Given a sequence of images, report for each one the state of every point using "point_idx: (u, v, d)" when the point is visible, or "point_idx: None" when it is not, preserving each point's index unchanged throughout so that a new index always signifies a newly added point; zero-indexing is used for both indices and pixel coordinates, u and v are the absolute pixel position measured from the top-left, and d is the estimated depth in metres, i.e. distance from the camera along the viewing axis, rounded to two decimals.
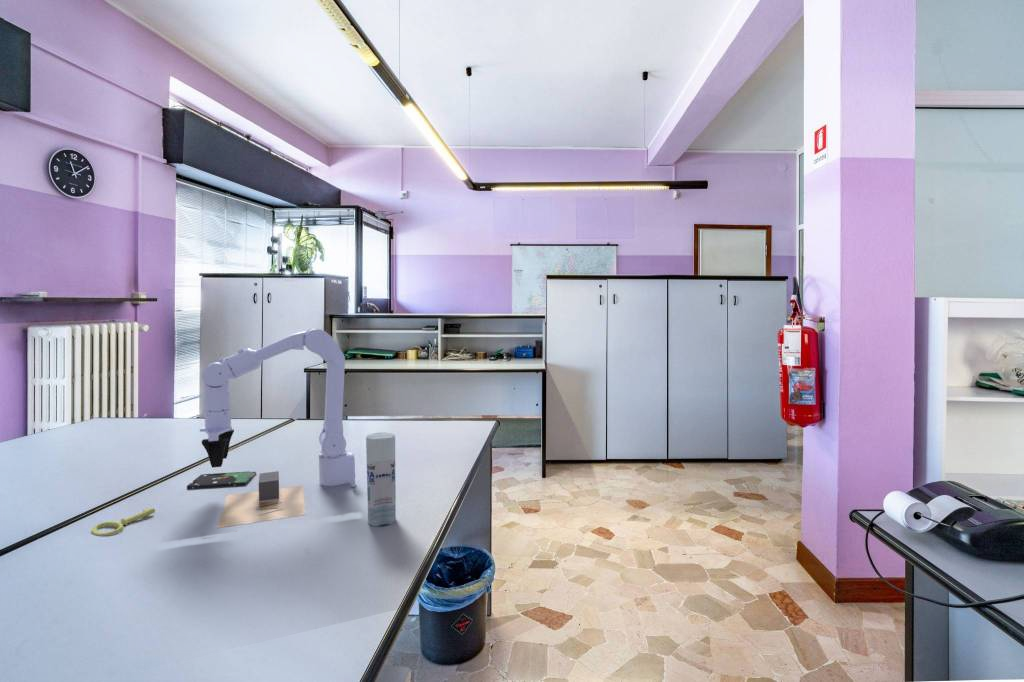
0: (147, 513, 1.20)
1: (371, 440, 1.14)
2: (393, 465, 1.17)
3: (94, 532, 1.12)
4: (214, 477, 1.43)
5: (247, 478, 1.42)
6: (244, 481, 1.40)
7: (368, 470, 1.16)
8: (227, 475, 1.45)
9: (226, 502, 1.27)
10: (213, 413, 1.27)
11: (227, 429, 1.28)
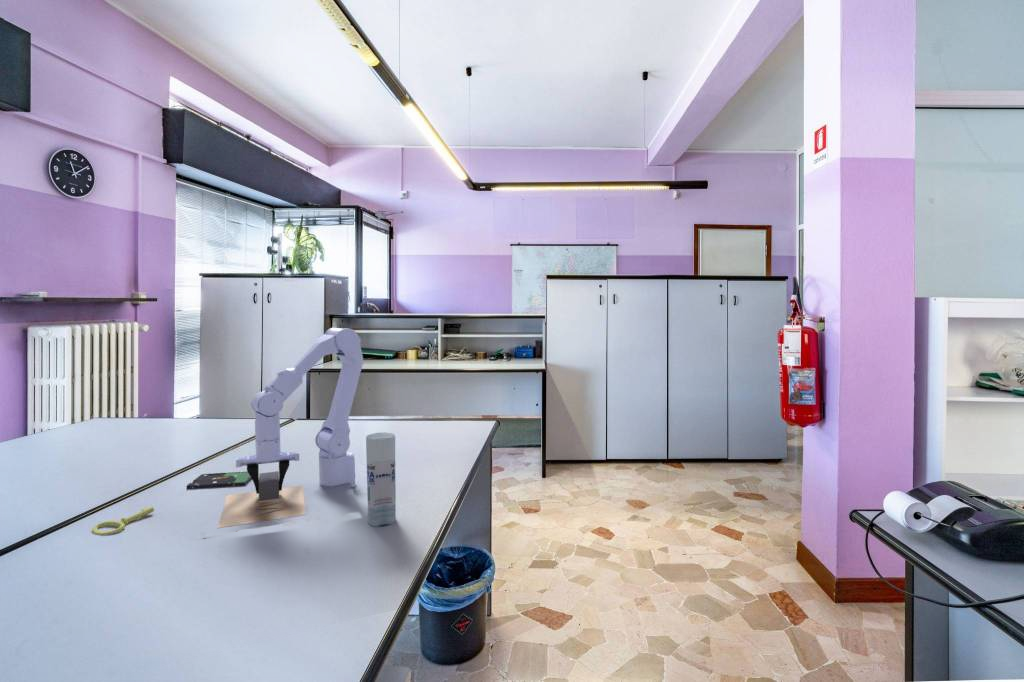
0: (146, 512, 1.21)
1: (371, 440, 1.14)
2: (393, 465, 1.17)
3: (95, 531, 1.12)
4: (214, 477, 1.43)
5: (247, 478, 1.42)
6: (244, 481, 1.40)
7: (368, 470, 1.16)
8: (227, 475, 1.45)
9: (226, 502, 1.27)
10: None
11: (257, 460, 1.27)
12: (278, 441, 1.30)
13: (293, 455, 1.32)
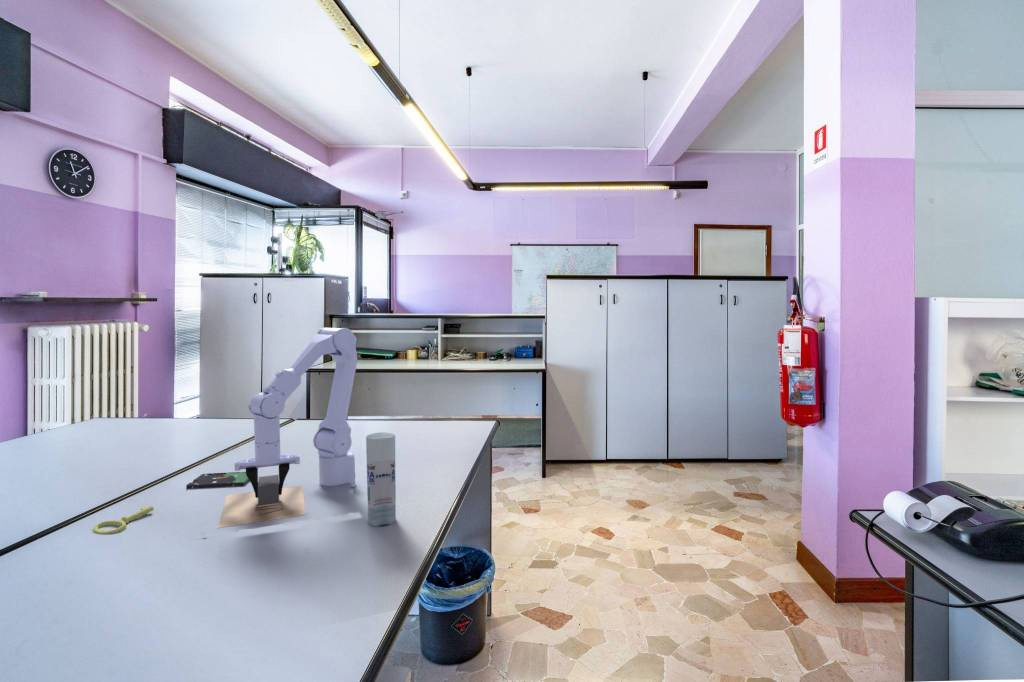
0: (146, 511, 1.21)
1: (371, 440, 1.14)
2: (393, 465, 1.17)
3: (97, 531, 1.12)
4: (214, 477, 1.43)
5: (246, 478, 1.42)
6: (243, 481, 1.40)
7: (368, 470, 1.16)
8: (227, 475, 1.45)
9: (226, 502, 1.27)
10: None
11: (257, 463, 1.24)
12: (278, 444, 1.26)
13: (293, 458, 1.28)
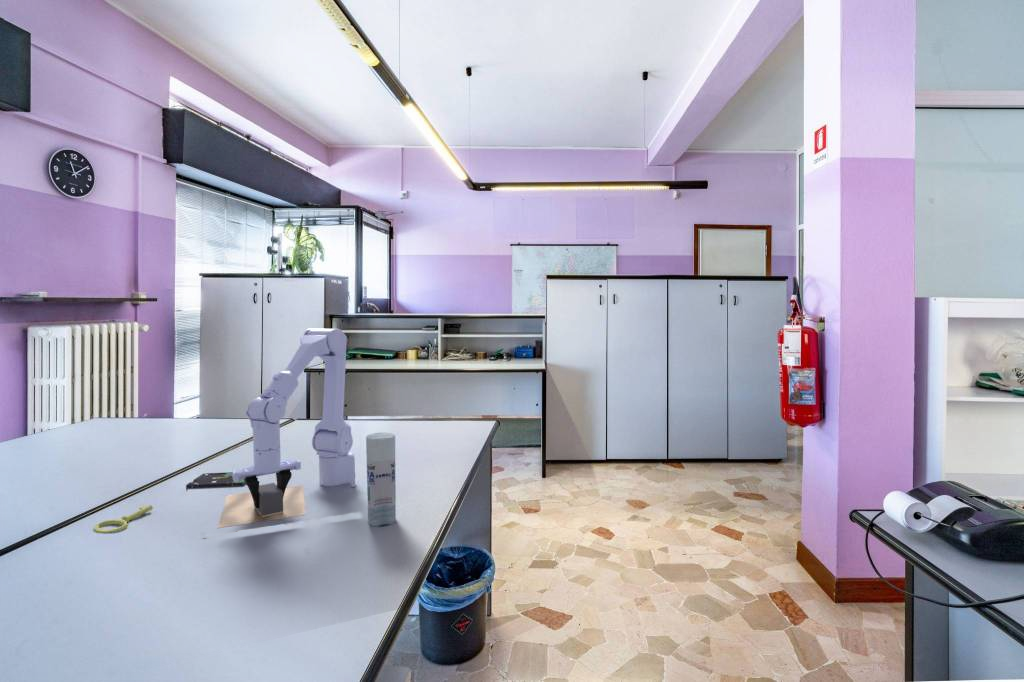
0: (146, 510, 1.22)
1: (371, 440, 1.14)
2: (393, 465, 1.17)
3: (98, 530, 1.12)
4: (215, 476, 1.44)
5: None
6: (242, 481, 1.40)
7: (368, 470, 1.16)
8: (228, 475, 1.45)
9: (226, 502, 1.27)
10: None
11: (259, 472, 1.18)
12: (279, 450, 1.21)
13: (294, 464, 1.24)
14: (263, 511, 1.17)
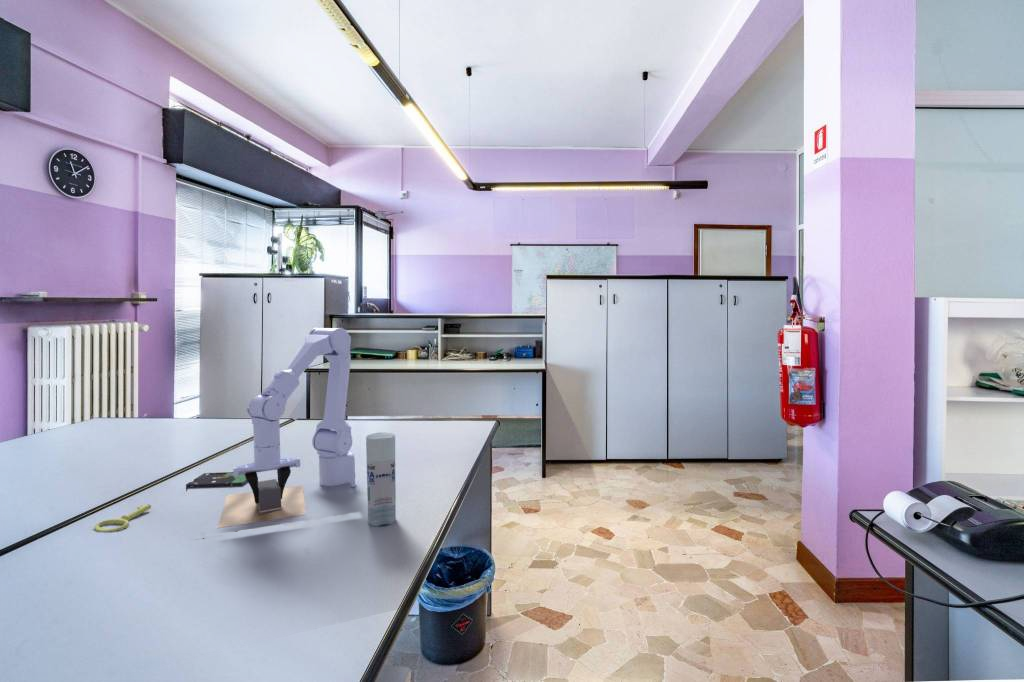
0: (145, 509, 1.23)
1: (371, 440, 1.14)
2: (393, 465, 1.17)
3: (100, 529, 1.13)
4: (215, 476, 1.44)
5: (245, 478, 1.42)
6: (242, 481, 1.40)
7: (368, 470, 1.16)
8: (228, 475, 1.46)
9: (226, 502, 1.27)
10: (254, 447, 1.22)
11: (258, 468, 1.20)
12: (279, 447, 1.23)
13: (294, 461, 1.26)
14: (261, 507, 1.20)
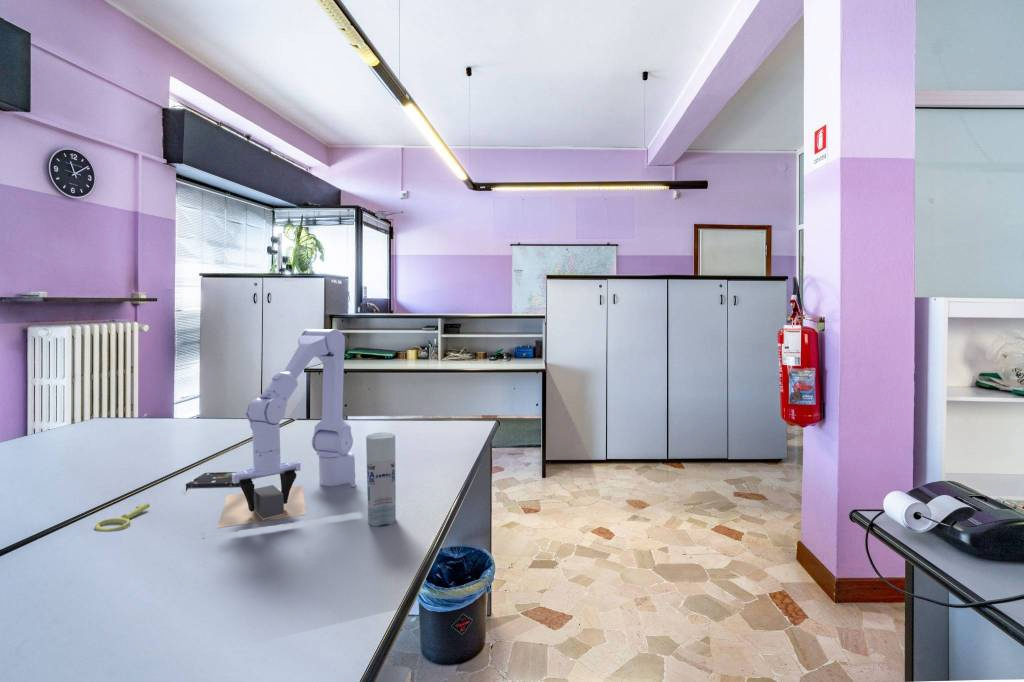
0: (144, 508, 1.23)
1: (371, 440, 1.14)
2: (393, 465, 1.17)
3: (101, 529, 1.13)
4: (215, 476, 1.44)
5: None
6: None
7: (368, 470, 1.16)
8: (228, 474, 1.46)
9: (226, 502, 1.27)
10: (253, 452, 1.18)
11: (259, 473, 1.16)
12: (279, 451, 1.20)
13: (294, 465, 1.23)
14: (264, 514, 1.16)
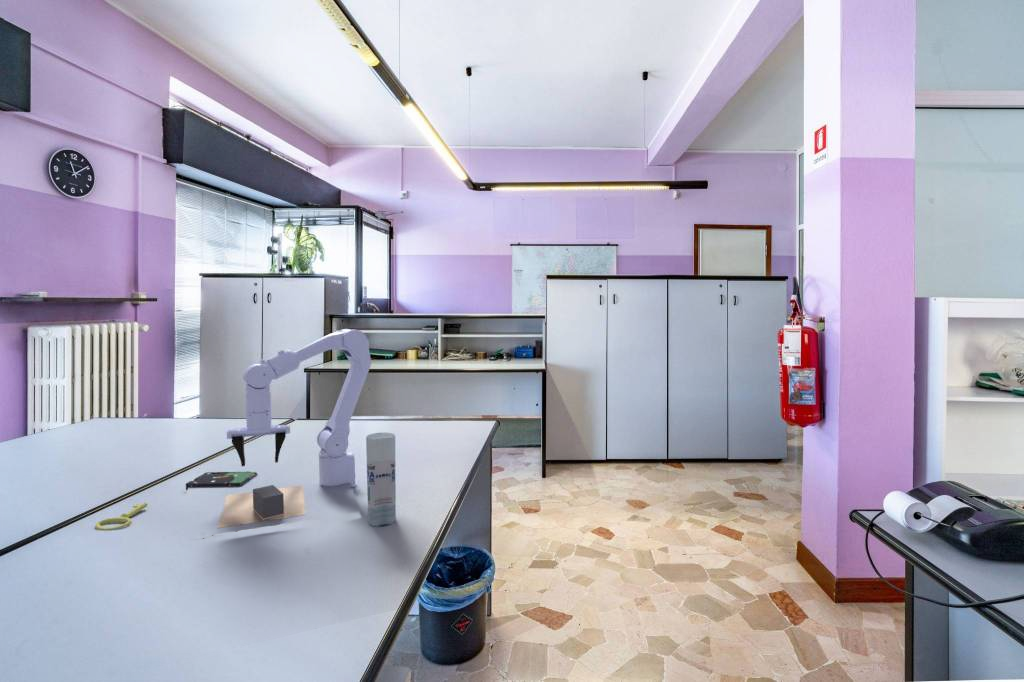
0: (142, 507, 1.24)
1: (371, 440, 1.14)
2: (393, 465, 1.17)
3: (102, 528, 1.14)
4: (215, 476, 1.44)
5: (244, 479, 1.42)
6: (240, 481, 1.40)
7: (368, 470, 1.16)
8: (228, 474, 1.46)
9: (226, 502, 1.27)
10: None
11: (248, 432, 1.28)
12: (269, 413, 1.31)
13: (284, 428, 1.33)
14: (264, 514, 1.16)
